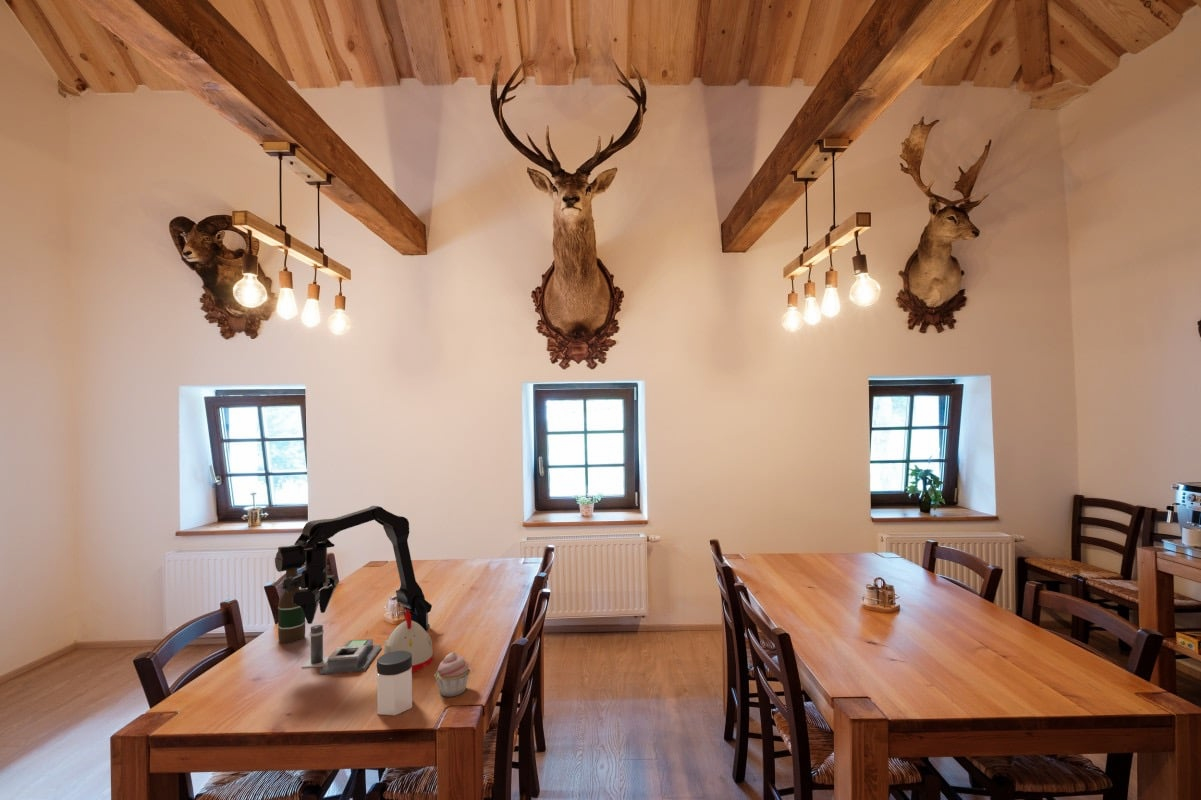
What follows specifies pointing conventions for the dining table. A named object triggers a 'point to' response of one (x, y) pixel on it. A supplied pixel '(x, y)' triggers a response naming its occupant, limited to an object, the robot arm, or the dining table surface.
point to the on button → (358, 643)
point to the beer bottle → (290, 615)
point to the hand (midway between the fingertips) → (316, 618)
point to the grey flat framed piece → (351, 658)
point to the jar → (394, 682)
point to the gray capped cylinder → (316, 644)
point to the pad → (309, 664)
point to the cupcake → (452, 675)
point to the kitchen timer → (411, 642)
